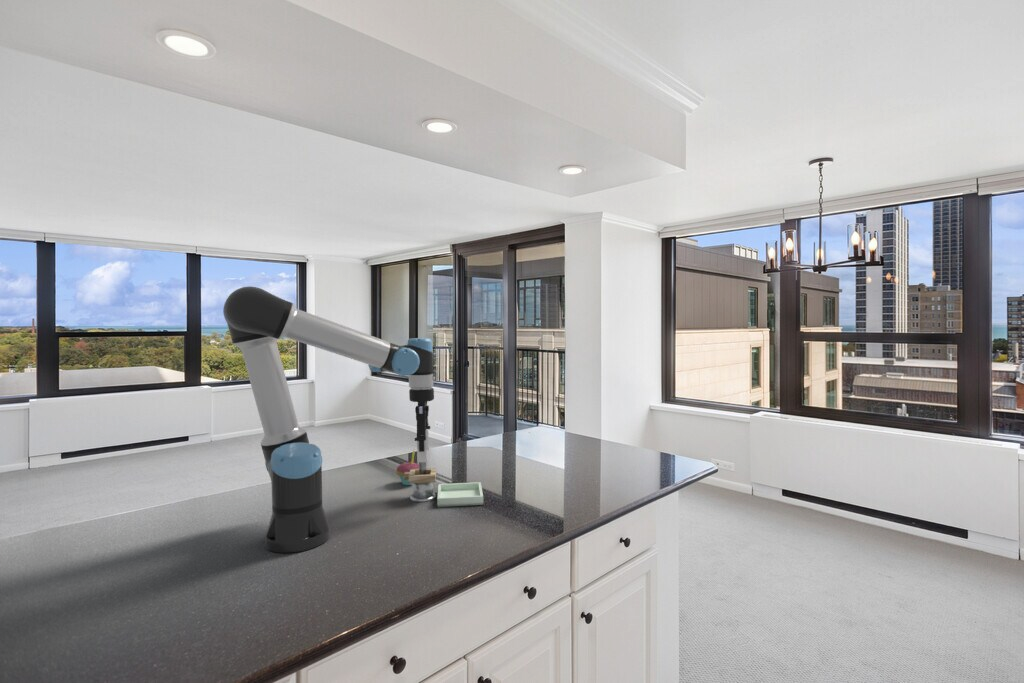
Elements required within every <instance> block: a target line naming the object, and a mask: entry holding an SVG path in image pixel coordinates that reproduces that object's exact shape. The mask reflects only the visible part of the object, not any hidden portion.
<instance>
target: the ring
mask: <svg viewBox="0 0 1024 683" xmlns="http://www.w3.org/2000/svg"><path fill="white" fill-rule="evenodd" d="M436 479H437V468H436V467H433V468H431V467H430V468H429V467H427V474H425V475H419V469H411V470H410V472H405V474H404V480H409V483H424V482H433V483H436Z"/></svg>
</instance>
